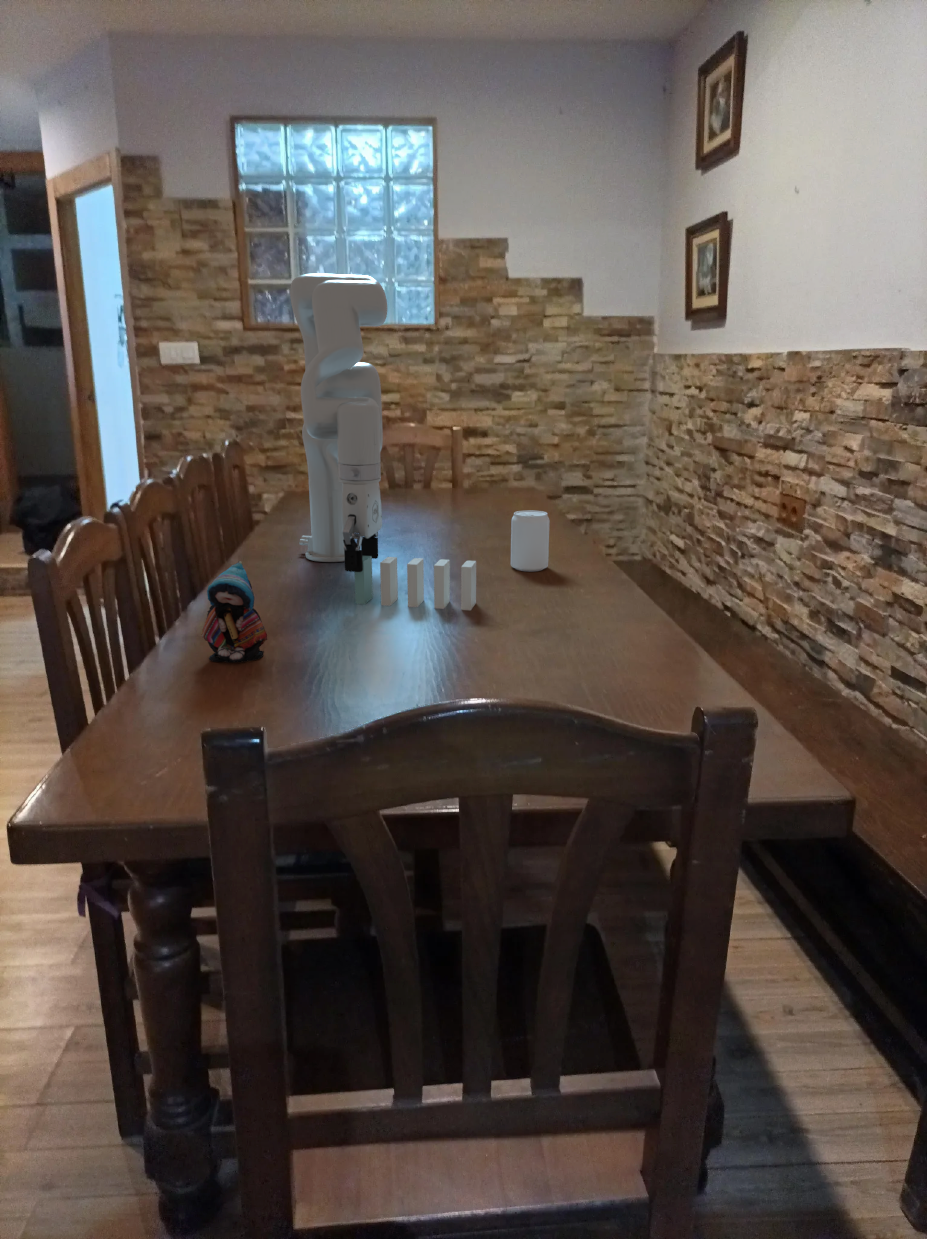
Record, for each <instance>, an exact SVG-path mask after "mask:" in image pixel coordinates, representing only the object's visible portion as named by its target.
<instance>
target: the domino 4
mask: <svg viewBox="0 0 927 1239" xmlns="http://www.w3.org/2000/svg"><path fill="white" fill-rule="evenodd" d="M450 563H451V561H450V559H443V558H442V559H441V558H440V559H439V560H438V561H437V562H436V563H434V565H433V583H434V584H433V585H434V586H433V591H434V592H433V598H434V599H433V602H434V605H433V608H434V609H438V610H439V609H441V610H444V609H446V607H447V606H448V604H449V603H450V602H451V601H450V600H451V594H450V591H451V590H450V589H451V587H450V586H451V585H450V584H451V582H450V581H451V579H450V576H451V575H450V573H451V572H450V571H451V568H450V566H451V564H450Z"/></svg>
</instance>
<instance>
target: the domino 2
mask: <svg viewBox="0 0 927 1239" xmlns="http://www.w3.org/2000/svg"><path fill="white" fill-rule="evenodd" d="M379 569H380V576H379V577H380V606H387V607H388V606H389V607H391V606H392V605H393V604H394V603H396V601H397V600H398V598H399V596H398V595H399V590H398V584H399V583H398V581H399V580H398V557H397V556H387V557H385V558H384V559H383V560H382V561H380V562H379Z"/></svg>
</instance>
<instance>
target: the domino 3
mask: <svg viewBox="0 0 927 1239" xmlns="http://www.w3.org/2000/svg"><path fill="white" fill-rule="evenodd" d="M406 567H407V568H406V571H407V573H406V575H407V581H406V582H407V608H418V607H420V605H421V604H422V603H423V601H424V600H425V593H424V592H425V589H424V588H425V582H424V581H425V579H424V578H425V577H424V576H425V574H424V572H425V571H424V567H425V566H424V558H423V557H421V558H419V557H418V558H417V557H414V558H412V559H411V560H410V561H409V562H408V563H407V564H406Z"/></svg>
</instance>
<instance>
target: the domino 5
mask: <svg viewBox="0 0 927 1239" xmlns="http://www.w3.org/2000/svg"><path fill="white" fill-rule="evenodd" d="M460 572H461V573H460V574H461V576H460V577H461V579H460V581H461V582H460V583H461V584H460V586H461V587H460V589H461V590H460V598H461V599H460V601H461V602H460V606H461V607H460V610H461V611H472V609H473V608H474V606H475V605H476V604H477V560H466V561H465V562H464V563H463V564H462V565H461V567H460Z"/></svg>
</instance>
